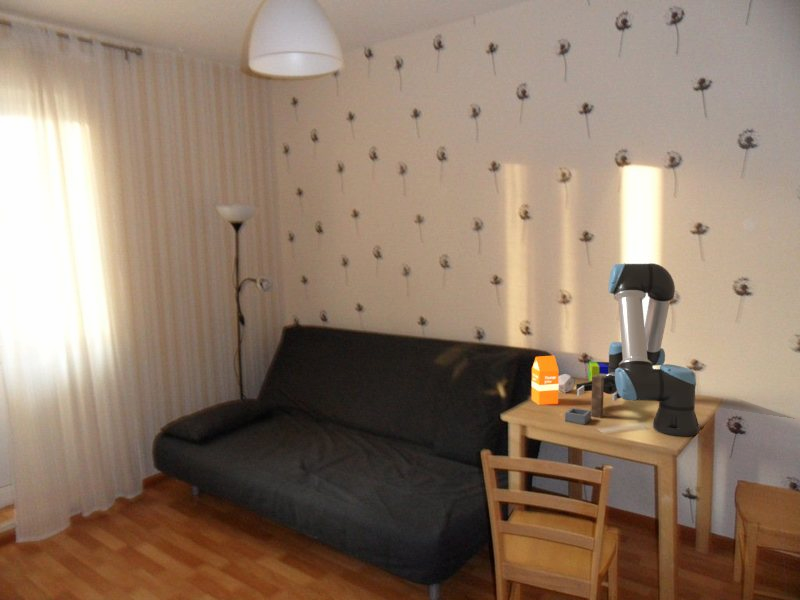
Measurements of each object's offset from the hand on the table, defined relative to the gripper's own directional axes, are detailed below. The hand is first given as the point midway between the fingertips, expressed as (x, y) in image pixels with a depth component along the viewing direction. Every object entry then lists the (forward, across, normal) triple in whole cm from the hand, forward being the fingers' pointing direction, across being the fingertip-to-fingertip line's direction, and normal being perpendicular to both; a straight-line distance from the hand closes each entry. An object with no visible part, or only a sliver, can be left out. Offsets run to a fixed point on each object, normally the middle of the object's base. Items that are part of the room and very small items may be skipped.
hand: (595, 395), depth 218 cm
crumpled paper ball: (-30, +23, -9) cm, 38 cm away
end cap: (+7, +4, -9) cm, 12 cm away
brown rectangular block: (-3, 0, -9) cm, 9 cm away
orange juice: (-10, +24, -9) cm, 28 cm away
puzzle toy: (-50, +12, -9) cm, 52 cm away
